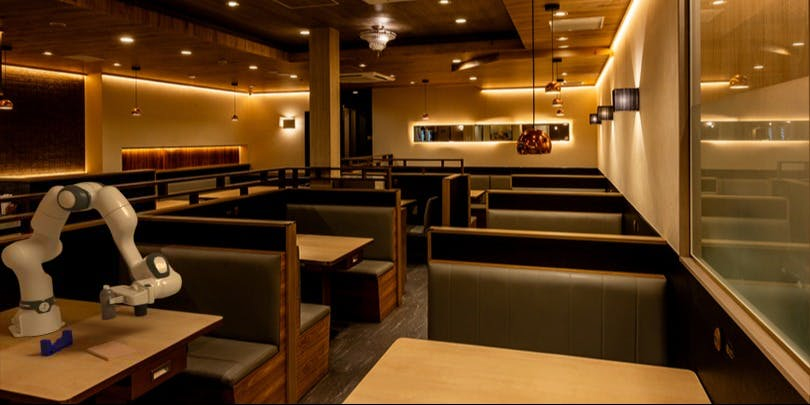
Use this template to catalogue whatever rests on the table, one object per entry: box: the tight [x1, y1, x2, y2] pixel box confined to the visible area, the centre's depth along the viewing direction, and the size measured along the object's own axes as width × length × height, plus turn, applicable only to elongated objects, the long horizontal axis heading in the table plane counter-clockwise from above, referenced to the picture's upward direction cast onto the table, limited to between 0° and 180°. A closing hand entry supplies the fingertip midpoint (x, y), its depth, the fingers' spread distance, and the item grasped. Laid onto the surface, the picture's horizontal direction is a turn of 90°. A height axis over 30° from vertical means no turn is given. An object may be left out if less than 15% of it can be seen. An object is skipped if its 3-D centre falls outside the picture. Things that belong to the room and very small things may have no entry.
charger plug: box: [99, 284, 117, 321], centre depth 207 cm, size 5×5×12 cm
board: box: [86, 340, 137, 362], centre depth 209 cm, size 16×10×1 cm, turn 54°
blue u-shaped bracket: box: [39, 329, 74, 357], centre depth 211 cm, size 12×4×6 cm, turn 170°
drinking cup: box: [132, 303, 148, 317], centre depth 252 cm, size 8×8×20 cm
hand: (104, 300), depth 206 cm, fingers closed on charger plug, 5 cm apart
